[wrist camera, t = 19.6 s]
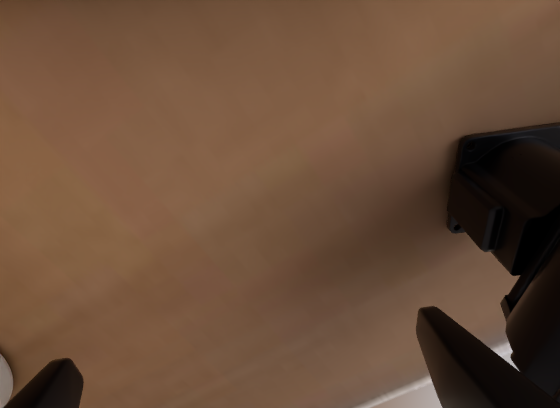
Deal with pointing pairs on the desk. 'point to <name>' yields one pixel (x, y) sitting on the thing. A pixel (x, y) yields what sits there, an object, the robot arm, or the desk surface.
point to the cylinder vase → (5, 382)
